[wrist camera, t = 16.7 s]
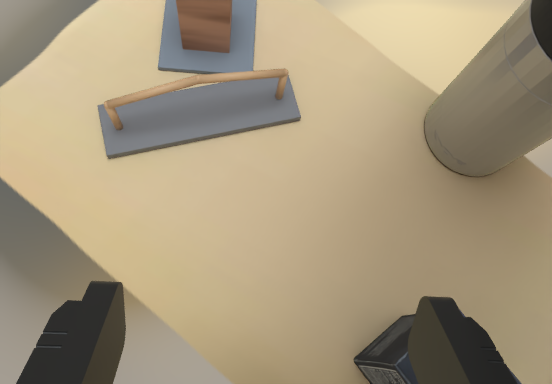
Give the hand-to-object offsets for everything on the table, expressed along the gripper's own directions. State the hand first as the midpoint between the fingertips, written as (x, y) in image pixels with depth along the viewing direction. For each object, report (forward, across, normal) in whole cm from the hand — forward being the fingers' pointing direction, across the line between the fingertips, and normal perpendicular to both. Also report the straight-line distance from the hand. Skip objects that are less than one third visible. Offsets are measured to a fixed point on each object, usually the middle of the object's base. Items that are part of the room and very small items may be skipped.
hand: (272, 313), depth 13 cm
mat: (+40, +4, 0) cm, 40 cm away
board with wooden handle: (+34, +5, +7) cm, 35 cm away
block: (+40, +5, 0) cm, 40 cm away
